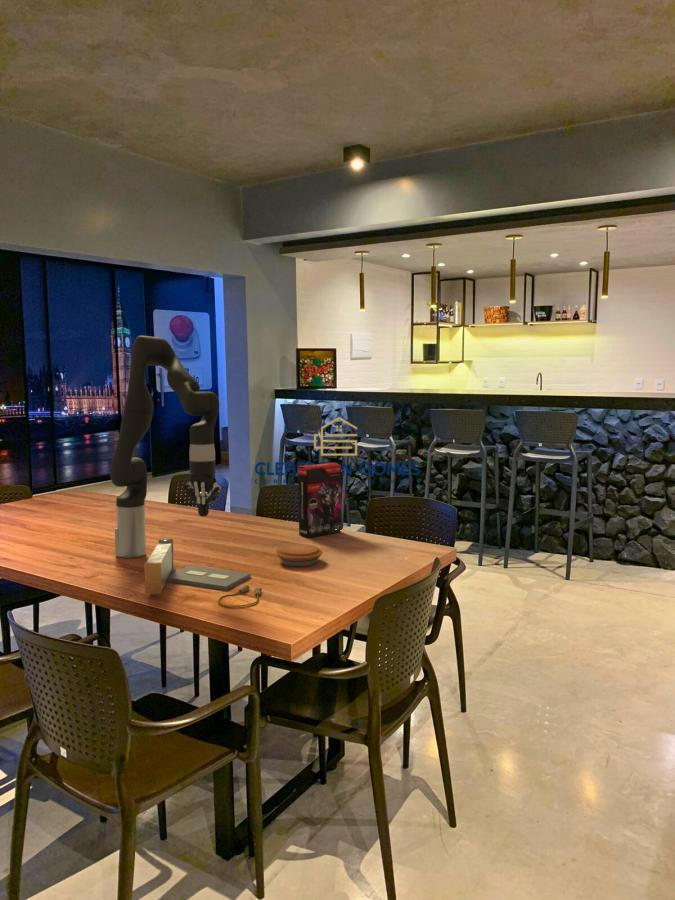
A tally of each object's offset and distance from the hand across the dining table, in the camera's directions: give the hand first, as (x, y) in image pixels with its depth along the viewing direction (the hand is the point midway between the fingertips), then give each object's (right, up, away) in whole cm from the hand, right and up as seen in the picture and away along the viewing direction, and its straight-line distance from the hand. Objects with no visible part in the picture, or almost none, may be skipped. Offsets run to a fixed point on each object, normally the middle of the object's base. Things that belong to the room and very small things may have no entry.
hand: (203, 515), depth 205 cm
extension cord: (+14, -22, -16) cm, 31 cm away
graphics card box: (+33, -13, +61) cm, 71 cm away
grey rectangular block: (-12, -18, -4) cm, 22 cm away
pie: (+28, -18, +22) cm, 39 cm away
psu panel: (-3, -19, +3) cm, 20 cm away
